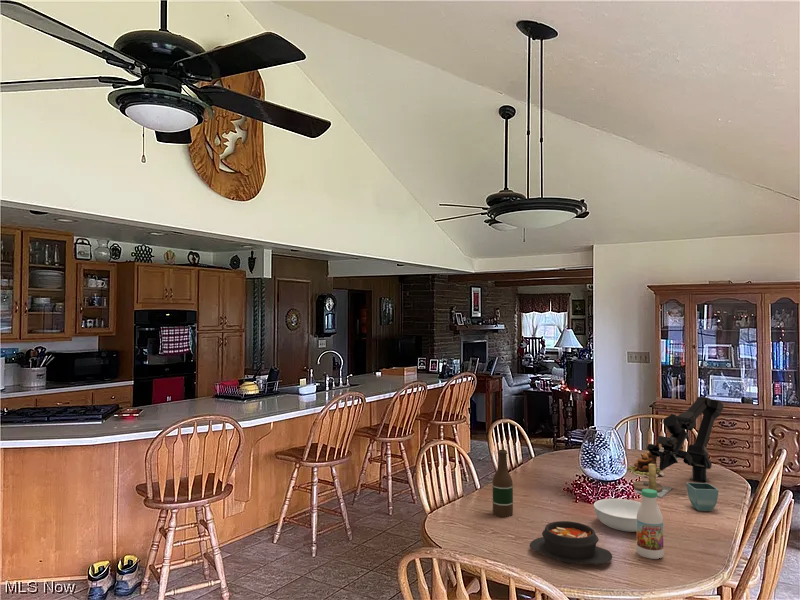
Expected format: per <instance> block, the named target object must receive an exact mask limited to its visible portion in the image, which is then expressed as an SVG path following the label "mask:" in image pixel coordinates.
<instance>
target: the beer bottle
mask: <svg viewBox="0 0 800 600" xmlns="http://www.w3.org/2000/svg"><path fill="white" fill-rule="evenodd" d="M497 455H498V456H497V468H496V472H495V473H494V475H493V478H492V512H493V516H495V515H496V516H495V517H498V516H499V517H498V518H510V517H513V515H514V513H513V512H514V495H513V494H514V486H513V479H512V477H511V475H510V473H509V470H508V459H507V457H508V456H507V455H508V451H507V450H506V449H498V450H497ZM509 516H510V517H509Z"/></svg>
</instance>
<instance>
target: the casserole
mask: <svg viewBox="0 0 800 600" xmlns="http://www.w3.org/2000/svg"><path fill="white" fill-rule="evenodd" d="M541 536H542V537H541ZM541 536H540V537H537V538H535V539H533V540H532V541H531V542H530V543H529V548H530V549H531V550H532V551H534V552H537V553H539V554H543V555H545V556H546V557H548V558H550V559H553V560H556V561H558V562H563V563H568V564H591V565H604V564H607V563H609V562H610V561H611V560H613V553H612V552H611V551H610V550H608V549H606V548H602V547H599V546H597V544H598V543H599V537H598V536H597V534H596V532H595V529H594V528H593V527H591V526H589V525H587V524H583V523H580V522H575V521H570V520H569V521H568V520H567V521H566V520H561V521H553V522H549V523H547V524H546V525H545V526H544V529H543V530H542V532H541Z"/></svg>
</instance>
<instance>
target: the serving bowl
mask: <svg viewBox="0 0 800 600" xmlns="http://www.w3.org/2000/svg"><path fill="white" fill-rule="evenodd" d="M641 503H642V502H640V501H635V500H631V499H624V498H603V499H599V500H596V501H595V502H594V503H593V509H594V513H595V516H596V518H597V519H598V520H599V521H600V522H601V523H602V524H603V525H605V526H607V527H609V528H612V529H614V530H617V531H619V532H620V531H622V532H630V533H631V532H633V533H634V532H636V533H637V513H638V509H639V507H640V505H641Z"/></svg>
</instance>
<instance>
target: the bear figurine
mask: <svg viewBox="0 0 800 600" xmlns="http://www.w3.org/2000/svg"><path fill="white" fill-rule="evenodd" d="M640 456H641V458H640V457H639V458H637V460H636V461H635V463H634V464H633V465H632V466H631V465H630V466H629V467H627V470H628V471H629V472H630V471H631V472H630V473H631V474H633V475H636V476H639V477H643V478H644V477H647V478H648V479H649V464H655V465H656V478H658V477H659V476H664V475H665V473H664V472H663V471H664V470H660V469H659V467H657V466H658V465H657V458H658V457H656V456H653V455H651V453H650V452H649V451H648V450H647V451H646V453H642V452H641V453H640ZM632 472H633V473H632ZM664 477H665V476H664Z"/></svg>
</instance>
